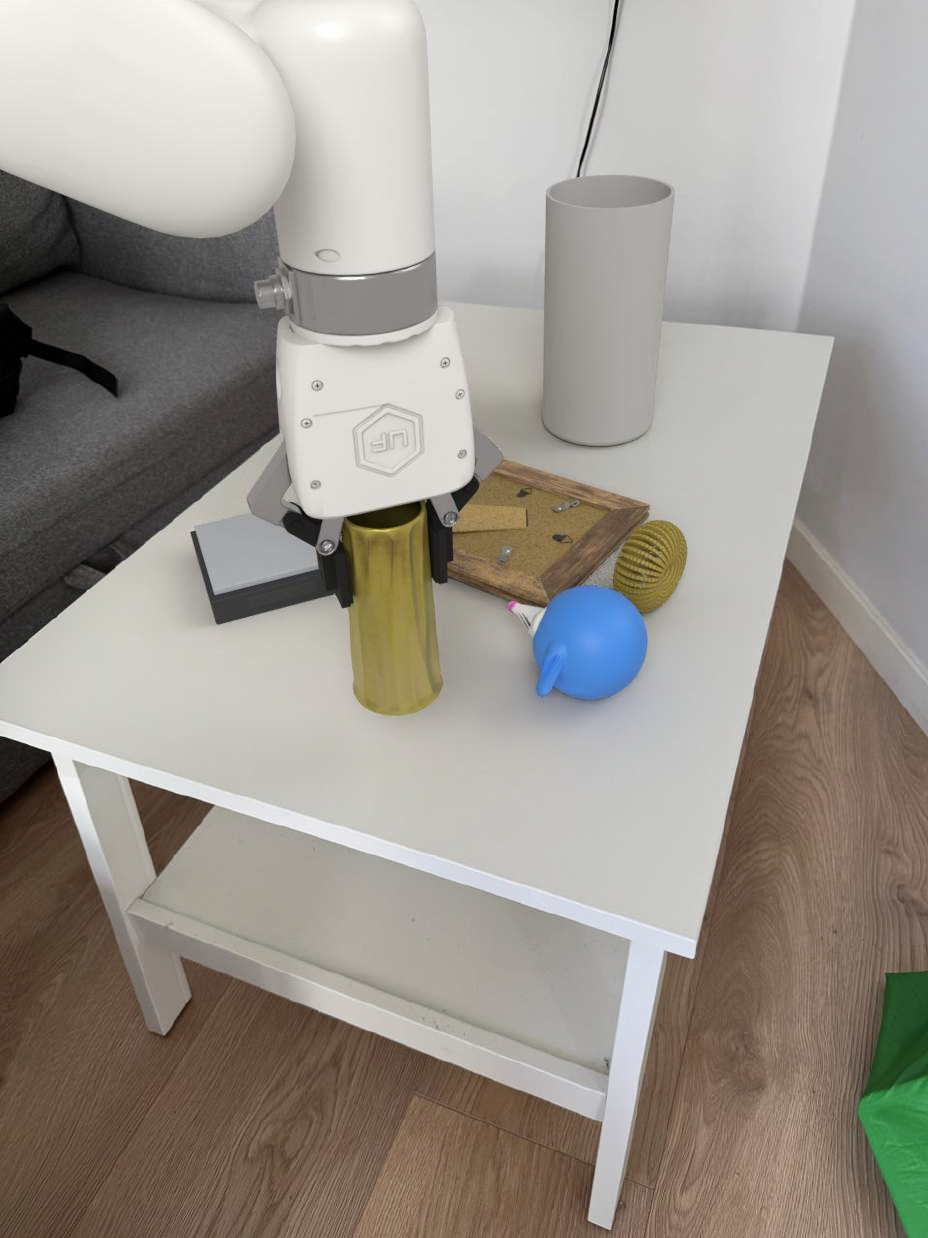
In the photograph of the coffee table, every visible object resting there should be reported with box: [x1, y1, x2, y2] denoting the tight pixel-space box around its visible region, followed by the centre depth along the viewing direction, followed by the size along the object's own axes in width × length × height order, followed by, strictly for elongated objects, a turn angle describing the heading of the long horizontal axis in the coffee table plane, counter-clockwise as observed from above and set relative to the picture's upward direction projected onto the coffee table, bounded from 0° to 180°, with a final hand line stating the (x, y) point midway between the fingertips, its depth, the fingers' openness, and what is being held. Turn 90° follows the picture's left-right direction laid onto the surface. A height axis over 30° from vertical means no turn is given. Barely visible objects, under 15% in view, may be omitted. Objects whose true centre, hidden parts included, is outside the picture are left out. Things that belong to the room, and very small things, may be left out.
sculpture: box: [612, 519, 688, 614], centre depth 77 cm, size 8×4×8 cm, turn 140°
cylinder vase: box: [542, 174, 676, 447], centre depth 98 cm, size 12×12×25 cm
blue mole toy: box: [507, 584, 649, 701], centre depth 70 cm, size 12×12×8 cm
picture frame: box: [425, 458, 651, 608], centre depth 89 cm, size 19×2×24 cm
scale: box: [189, 501, 336, 625], centre depth 84 cm, size 12×12×3 cm
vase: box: [340, 500, 444, 717], centre depth 58 cm, size 6×6×14 cm
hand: (388, 580), depth 57 cm, fingers closed on vase, 5 cm apart
